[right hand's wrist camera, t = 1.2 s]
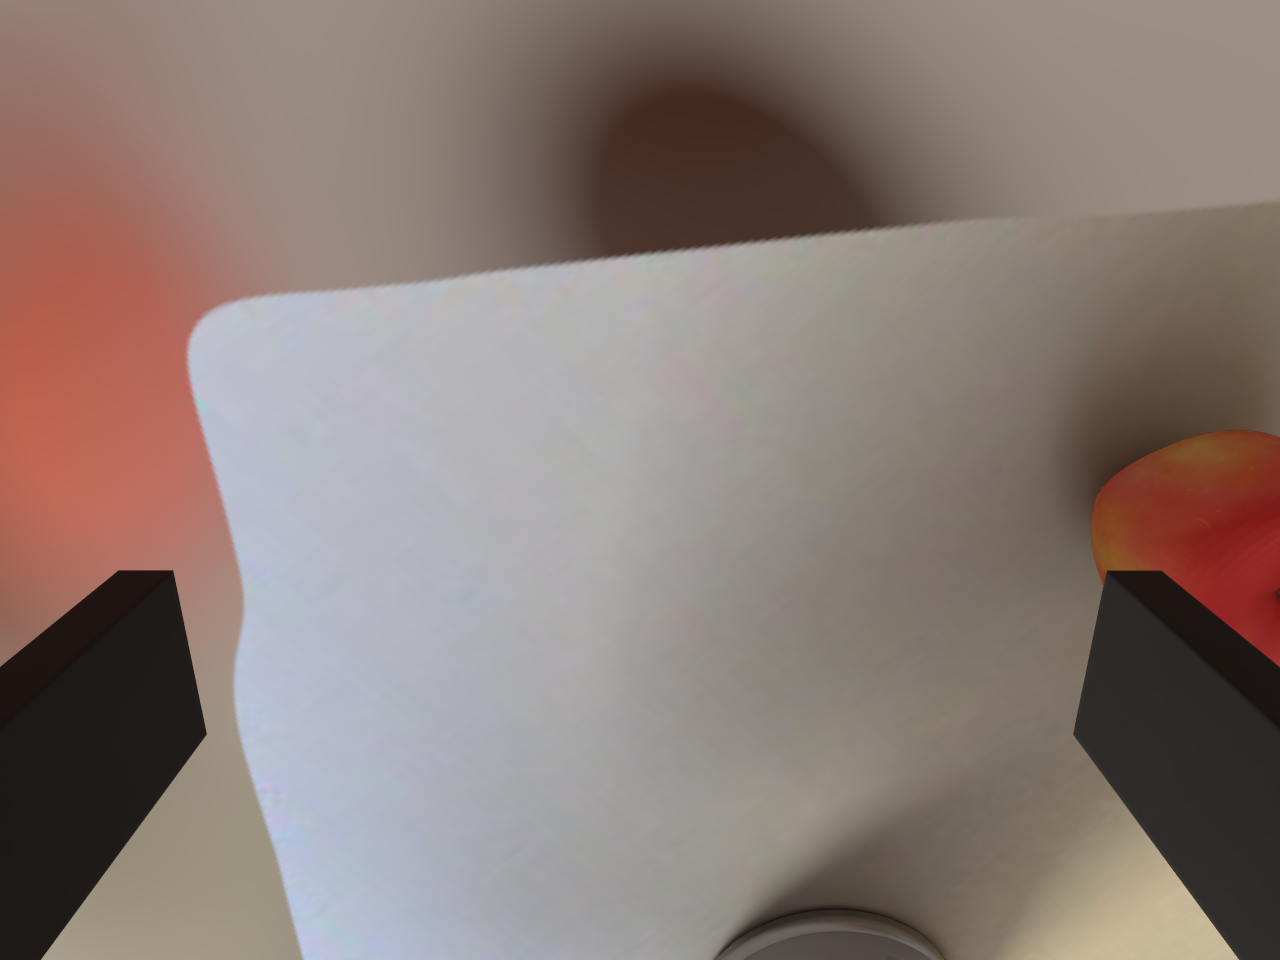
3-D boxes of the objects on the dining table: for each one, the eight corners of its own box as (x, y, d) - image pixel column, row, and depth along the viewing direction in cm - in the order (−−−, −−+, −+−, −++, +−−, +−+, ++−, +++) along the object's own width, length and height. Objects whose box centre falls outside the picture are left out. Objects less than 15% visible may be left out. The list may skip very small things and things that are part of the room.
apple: (1033, 592, 43) (1142, 719, 34) (1064, 401, 39) (1196, 484, 30) (1234, 589, 43) (1399, 716, 33) (1283, 398, 39) (1482, 480, 30)
